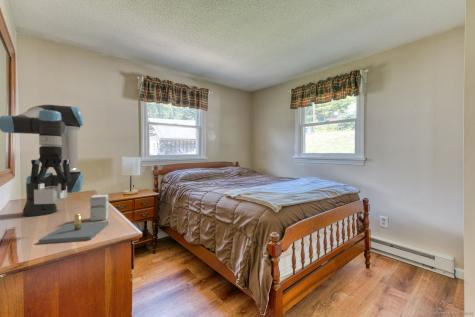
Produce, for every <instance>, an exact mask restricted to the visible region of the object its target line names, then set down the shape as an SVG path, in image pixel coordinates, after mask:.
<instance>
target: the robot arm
mask: <svg viewBox="0 0 475 317" xmlns="http://www.w3.org/2000/svg"><path fill="white" fill-rule="evenodd" d="M83 126H84V122H83V114H82V110H81V108H79V107H77V106H71V105H70V106H69V105H59V104H58V105H57V104H39V105H35V106H32V107H29V108H28V109H27V110H26V111H24V112H22V113H20V114H18V115H10V114H9V115H0V132H2V133H6V134H7V133H8V134H28V135H29V134H30V135H31V134H32V135H38V144H39V148H38V152H39V153H38V154H39V158H37V159H31V161H30V162H31V163H30V164H31V172H30V175H28V176H27V177H26V179H25V180H26V182H25V188H26V189H25V191H26V192H25V193H26V202H25V204H24V206H23V209H22V216H23V217H36V216H43V215H49V214H53V213H55V212H58V206H57V203H54V204H34V190H36V189H40V188H45V187H49V186H58V192H59V199H61V198H64V190H66V186H67V194H73V193H79V192H81V191H82V188H83V185H84V174H83V173H82V172H81V170H80V169H79V167H78V159H79V158H78V153H79V152H78V131H79V130H80V129H81V127H83ZM40 163H41V166H40ZM50 168H53V170H54V172H55V173H56V174H53V172H48V170H49V169H50Z"/></svg>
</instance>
